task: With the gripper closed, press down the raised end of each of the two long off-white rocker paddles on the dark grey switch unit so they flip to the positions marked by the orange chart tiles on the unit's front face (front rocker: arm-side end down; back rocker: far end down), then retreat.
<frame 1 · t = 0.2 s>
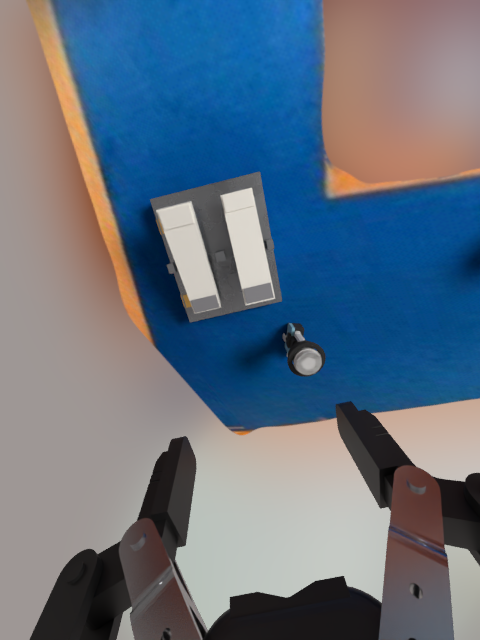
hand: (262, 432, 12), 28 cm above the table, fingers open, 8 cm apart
switch unit: (221, 253, 36), on the table
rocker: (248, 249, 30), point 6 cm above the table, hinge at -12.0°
push button: (290, 338, 42), on the table
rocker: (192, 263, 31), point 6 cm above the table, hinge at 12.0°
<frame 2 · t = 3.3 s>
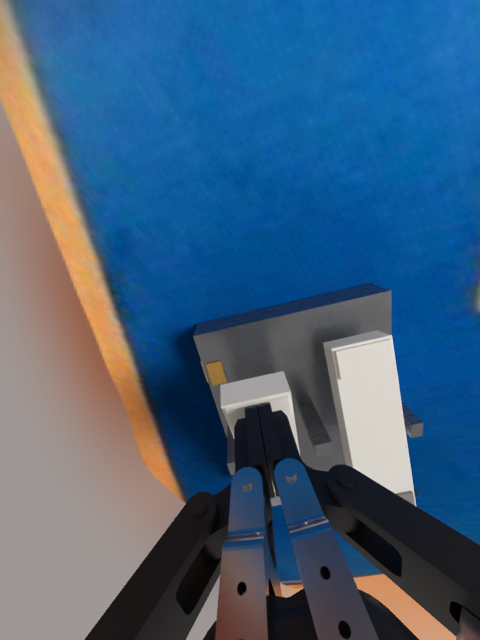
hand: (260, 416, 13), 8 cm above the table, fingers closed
switch unit: (297, 389, 23), on the table
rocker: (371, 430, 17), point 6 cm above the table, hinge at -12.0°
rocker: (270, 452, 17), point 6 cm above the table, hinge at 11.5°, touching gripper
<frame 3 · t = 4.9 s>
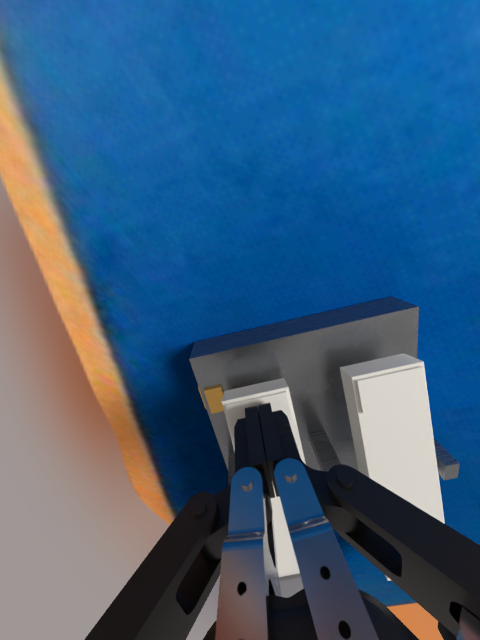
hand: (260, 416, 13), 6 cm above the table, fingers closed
switch unit: (307, 413, 20), on the table
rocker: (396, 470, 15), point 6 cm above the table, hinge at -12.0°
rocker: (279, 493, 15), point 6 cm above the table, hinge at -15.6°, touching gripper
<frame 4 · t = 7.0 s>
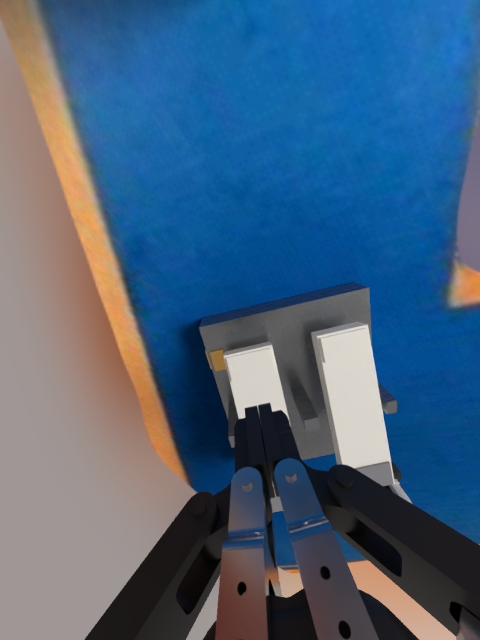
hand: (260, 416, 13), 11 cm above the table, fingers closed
switch unit: (291, 378, 26), on the table
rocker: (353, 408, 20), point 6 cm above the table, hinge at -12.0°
push button: (371, 470, 31), on the table
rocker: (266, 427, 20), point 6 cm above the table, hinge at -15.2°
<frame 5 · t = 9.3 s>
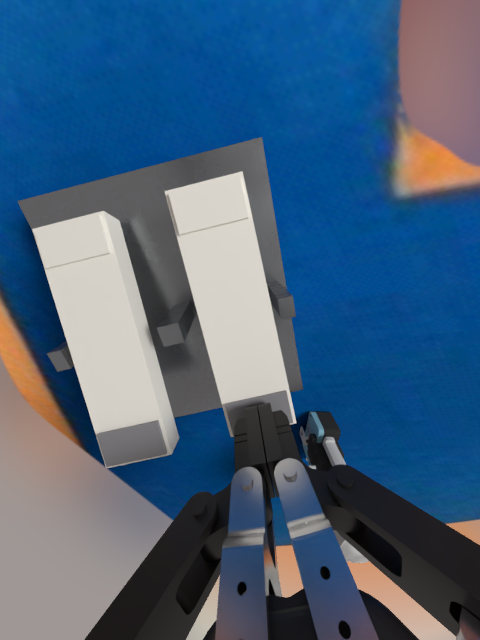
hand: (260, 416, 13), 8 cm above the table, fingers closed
switch unit: (190, 301, 19), on the table
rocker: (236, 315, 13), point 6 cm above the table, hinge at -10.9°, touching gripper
push button: (311, 431, 25), on the table
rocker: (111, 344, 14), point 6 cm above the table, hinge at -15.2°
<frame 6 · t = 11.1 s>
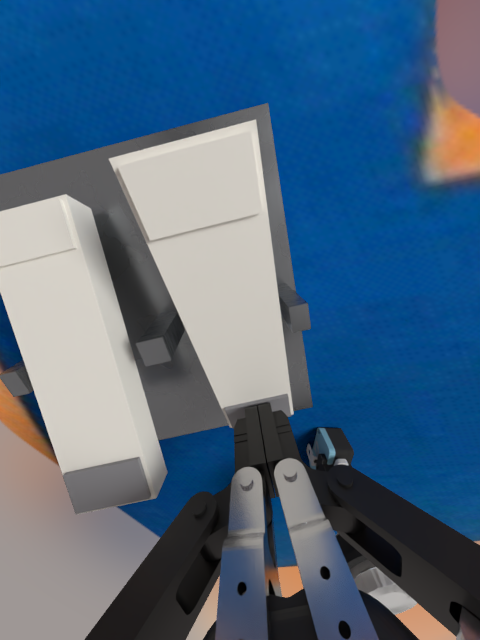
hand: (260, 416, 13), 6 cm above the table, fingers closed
switch unit: (182, 305, 17), on the table
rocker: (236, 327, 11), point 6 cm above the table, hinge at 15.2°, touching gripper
push button: (319, 448, 23), on the table
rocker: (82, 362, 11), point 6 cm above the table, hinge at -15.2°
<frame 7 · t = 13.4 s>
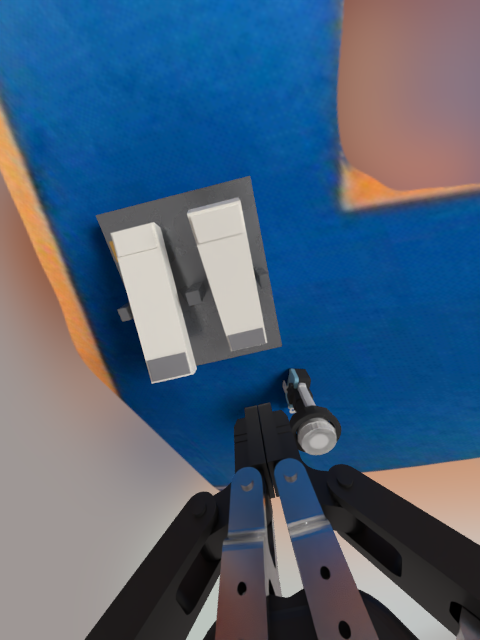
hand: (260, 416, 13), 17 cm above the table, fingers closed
switch unit: (202, 283, 27), on the table
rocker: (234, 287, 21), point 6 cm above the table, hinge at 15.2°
push button: (292, 385, 33), on the table
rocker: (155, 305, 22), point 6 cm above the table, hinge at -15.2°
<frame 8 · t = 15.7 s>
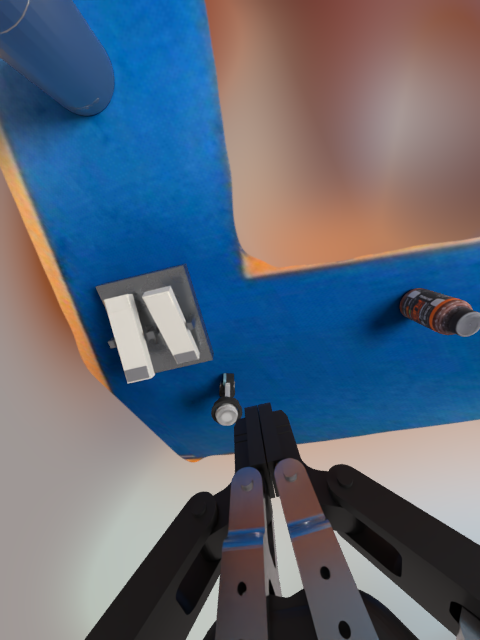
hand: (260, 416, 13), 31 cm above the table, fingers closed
supplement bottle: (412, 302, 45), on the table
switch unit: (162, 320, 44), on the table
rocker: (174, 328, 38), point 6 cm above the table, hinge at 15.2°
push button: (227, 384, 49), on the table
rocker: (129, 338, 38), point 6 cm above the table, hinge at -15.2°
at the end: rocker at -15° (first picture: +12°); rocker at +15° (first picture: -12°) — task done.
